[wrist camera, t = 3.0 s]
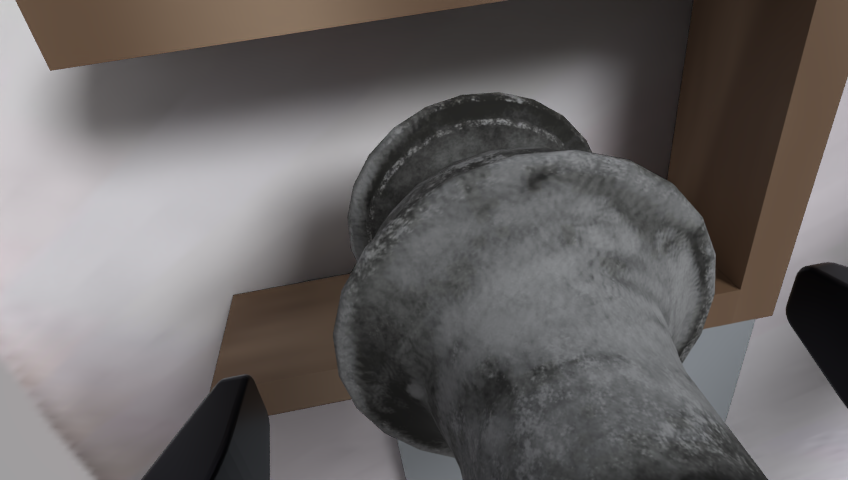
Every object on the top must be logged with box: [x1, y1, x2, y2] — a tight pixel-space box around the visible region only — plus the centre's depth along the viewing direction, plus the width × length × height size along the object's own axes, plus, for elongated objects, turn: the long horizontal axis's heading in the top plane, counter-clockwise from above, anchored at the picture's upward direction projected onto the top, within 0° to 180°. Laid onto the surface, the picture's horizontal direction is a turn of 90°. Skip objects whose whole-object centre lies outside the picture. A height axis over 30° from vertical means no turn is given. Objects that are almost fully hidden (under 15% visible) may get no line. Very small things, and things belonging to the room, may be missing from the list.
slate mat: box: [397, 319, 755, 480], centre depth 23 cm, size 14×14×1 cm
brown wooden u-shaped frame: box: [16, 0, 848, 416], centre depth 13 cm, size 15×10×4 cm
